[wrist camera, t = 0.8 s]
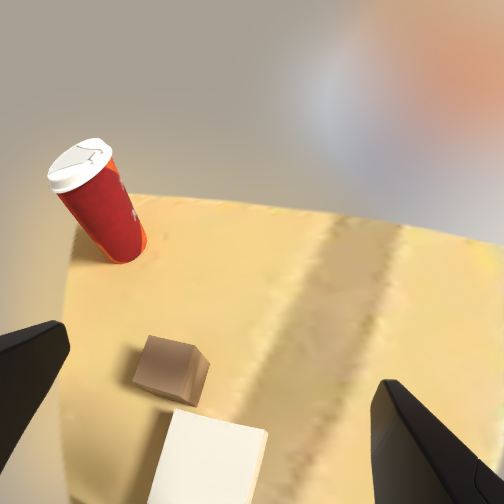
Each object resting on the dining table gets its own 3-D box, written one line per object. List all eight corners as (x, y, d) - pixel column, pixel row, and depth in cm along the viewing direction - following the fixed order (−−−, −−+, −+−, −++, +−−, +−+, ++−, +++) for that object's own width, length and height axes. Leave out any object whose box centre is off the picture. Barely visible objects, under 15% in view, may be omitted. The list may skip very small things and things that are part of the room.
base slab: (237, 549, 16) (229, 559, 13) (156, 523, 17) (140, 527, 15) (268, 433, 22) (264, 429, 20) (187, 414, 24) (174, 408, 21)
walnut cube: (197, 407, 24) (178, 395, 21) (155, 394, 25) (131, 381, 22) (210, 363, 27) (194, 345, 23) (168, 354, 28) (149, 335, 24)
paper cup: (164, 226, 38) (121, 131, 28) (137, 276, 34) (75, 182, 23) (119, 221, 41) (72, 139, 30) (91, 265, 36) (30, 184, 25)
